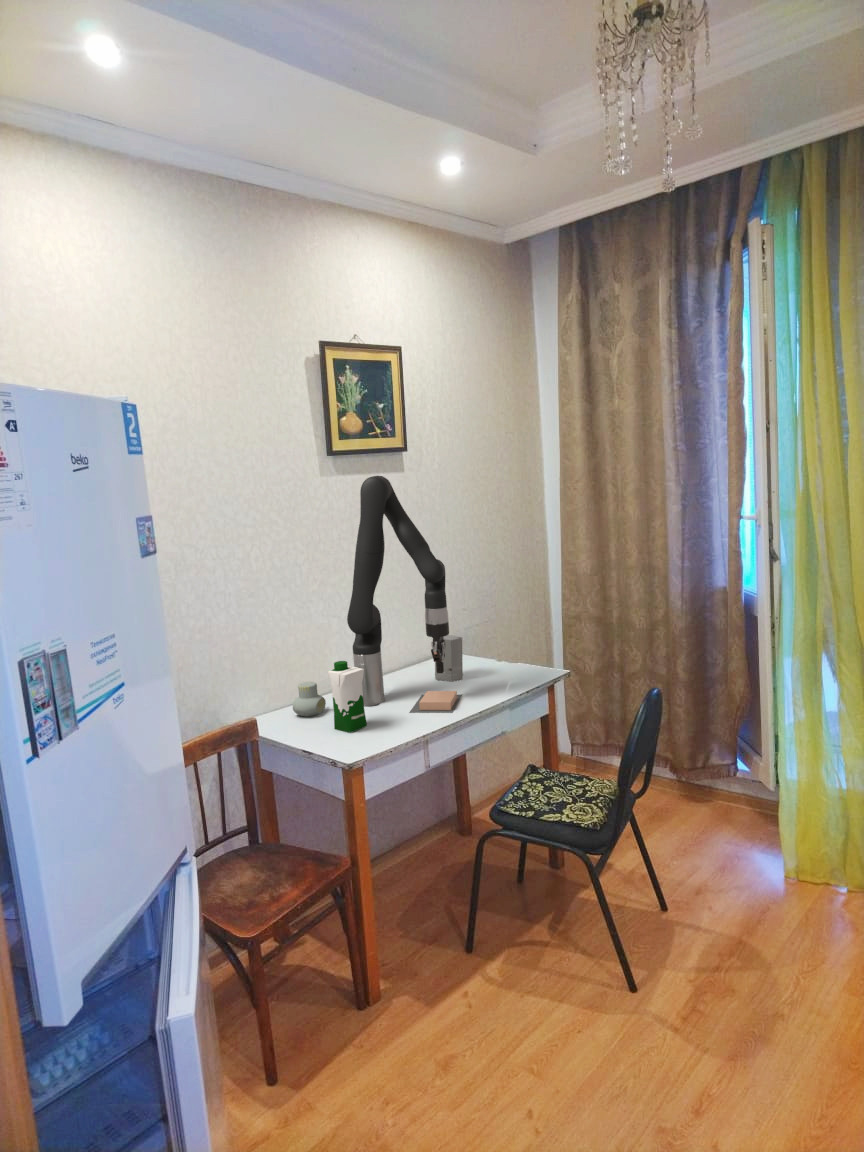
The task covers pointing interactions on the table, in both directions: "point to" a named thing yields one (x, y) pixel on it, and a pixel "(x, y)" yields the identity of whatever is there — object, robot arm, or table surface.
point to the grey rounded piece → (308, 700)
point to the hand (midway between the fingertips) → (440, 672)
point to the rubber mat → (417, 710)
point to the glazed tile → (438, 700)
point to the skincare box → (451, 660)
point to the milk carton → (347, 697)
